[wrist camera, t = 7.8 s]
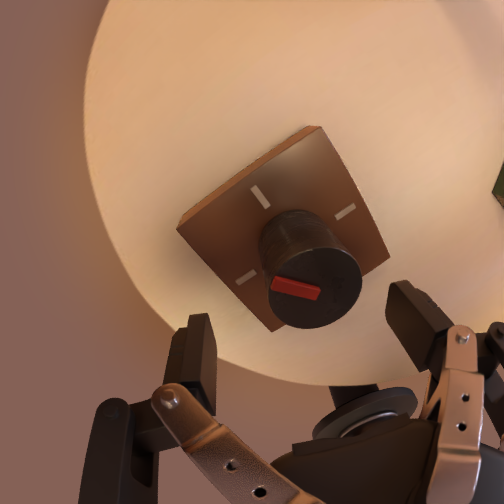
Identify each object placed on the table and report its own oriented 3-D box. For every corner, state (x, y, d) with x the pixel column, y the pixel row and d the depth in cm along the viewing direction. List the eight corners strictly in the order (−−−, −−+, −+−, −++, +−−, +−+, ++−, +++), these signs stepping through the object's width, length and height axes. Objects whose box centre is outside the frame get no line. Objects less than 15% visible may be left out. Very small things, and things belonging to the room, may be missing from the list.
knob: (341, 222, 16) (381, 265, 11) (312, 283, 18) (337, 339, 13) (273, 199, 15) (293, 236, 10) (248, 266, 17) (254, 323, 12)
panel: (267, 312, 22) (271, 334, 19) (182, 215, 18) (174, 230, 16) (375, 242, 20) (392, 258, 17) (309, 125, 16) (321, 126, 13)
